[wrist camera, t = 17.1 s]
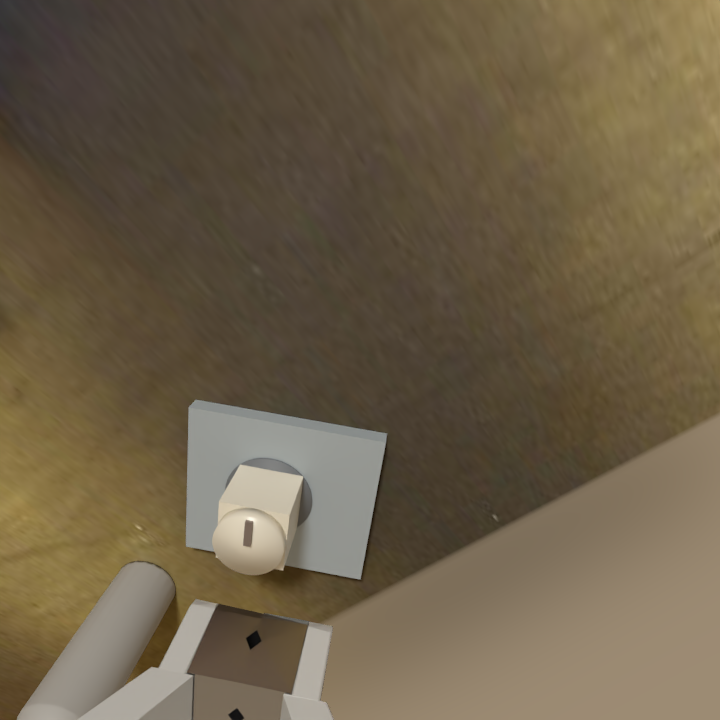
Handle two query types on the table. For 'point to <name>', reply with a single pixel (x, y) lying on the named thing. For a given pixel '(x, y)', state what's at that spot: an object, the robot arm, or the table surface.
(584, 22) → the table surface
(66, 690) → the bottle
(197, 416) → the panel
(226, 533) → the knob
